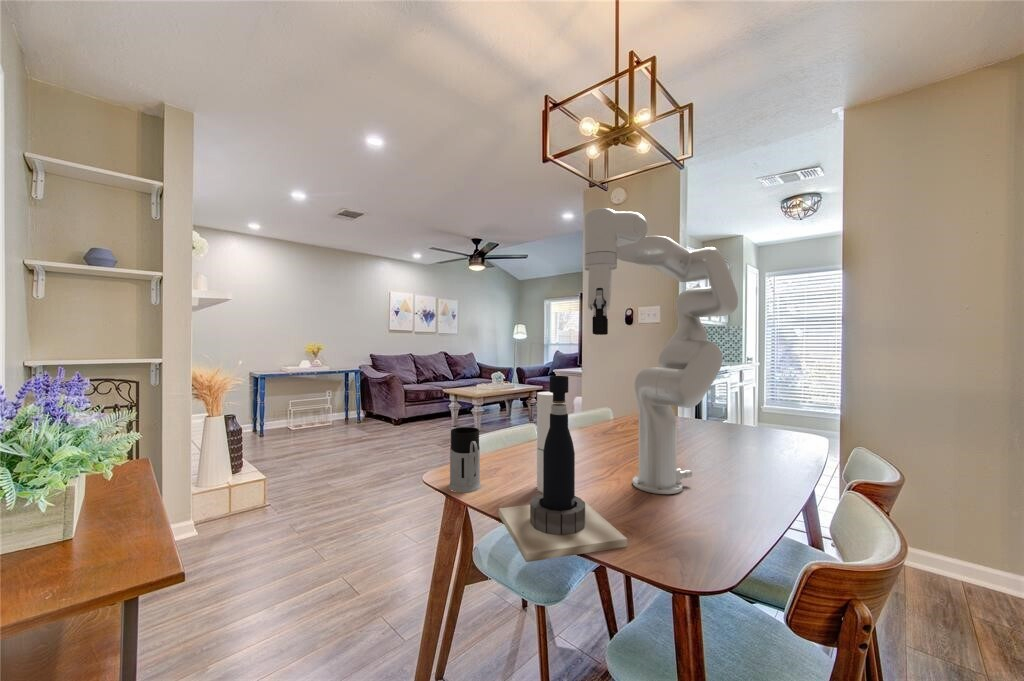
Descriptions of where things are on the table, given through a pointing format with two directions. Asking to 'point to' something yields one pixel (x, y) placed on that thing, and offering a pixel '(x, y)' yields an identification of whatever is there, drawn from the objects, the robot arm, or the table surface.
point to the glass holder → (464, 460)
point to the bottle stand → (559, 530)
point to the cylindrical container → (542, 430)
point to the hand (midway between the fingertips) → (600, 334)
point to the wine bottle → (558, 453)
